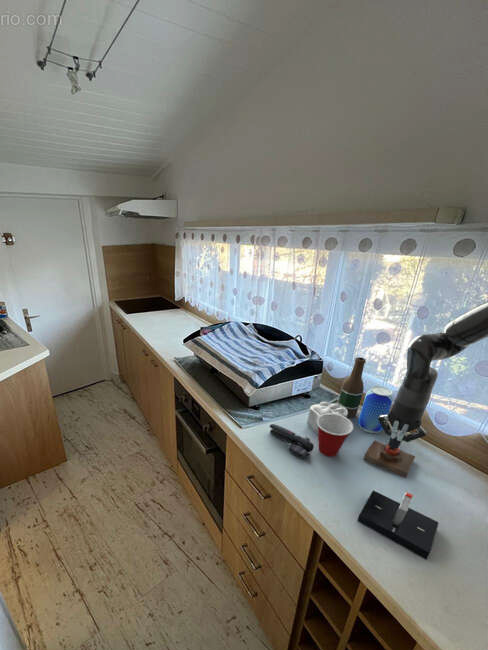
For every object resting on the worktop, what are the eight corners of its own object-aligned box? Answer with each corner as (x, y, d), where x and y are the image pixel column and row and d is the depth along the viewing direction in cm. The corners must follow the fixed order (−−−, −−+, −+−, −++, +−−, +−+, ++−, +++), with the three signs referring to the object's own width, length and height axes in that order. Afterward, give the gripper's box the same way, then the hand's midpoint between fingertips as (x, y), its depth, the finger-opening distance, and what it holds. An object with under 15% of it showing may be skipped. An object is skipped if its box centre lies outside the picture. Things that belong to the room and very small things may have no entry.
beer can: (383, 425, 115) (396, 388, 108) (380, 437, 109) (394, 399, 102) (358, 418, 120) (369, 382, 112) (355, 429, 113) (366, 392, 106)
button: (399, 451, 97) (401, 447, 96) (396, 457, 95) (398, 453, 94) (386, 446, 99) (388, 442, 98) (383, 452, 97) (385, 447, 96)
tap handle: (399, 528, 74) (407, 510, 71) (391, 524, 75) (399, 507, 72) (405, 512, 78) (413, 494, 75) (398, 508, 79) (406, 491, 76)
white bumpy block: (303, 420, 119) (307, 402, 115) (333, 416, 121) (337, 397, 117) (319, 437, 110) (324, 417, 106) (350, 432, 112) (356, 412, 108)
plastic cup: (304, 451, 103) (310, 422, 98) (319, 437, 110) (326, 409, 104) (335, 467, 96) (344, 437, 91) (350, 452, 103) (359, 422, 97)
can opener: (316, 454, 102) (319, 441, 99) (302, 462, 98) (305, 449, 96) (276, 428, 115) (278, 415, 112) (263, 434, 112) (264, 421, 109)
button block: (413, 461, 98) (417, 452, 96) (405, 478, 92) (410, 468, 90) (372, 445, 106) (375, 435, 104) (363, 459, 99) (366, 450, 97)
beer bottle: (331, 412, 123) (345, 358, 112) (340, 405, 128) (354, 352, 116) (351, 421, 118) (367, 364, 107) (359, 413, 123) (376, 358, 111)
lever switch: (435, 528, 77) (439, 521, 76) (426, 559, 70) (430, 552, 69) (370, 496, 86) (373, 489, 85) (357, 520, 79) (359, 513, 78)
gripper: (382, 397, 90) (366, 443, 98) (436, 414, 81) (414, 463, 90) (389, 388, 94) (373, 433, 103) (441, 403, 86) (420, 451, 94)
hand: (392, 447), depth 96 cm, fingers closed
